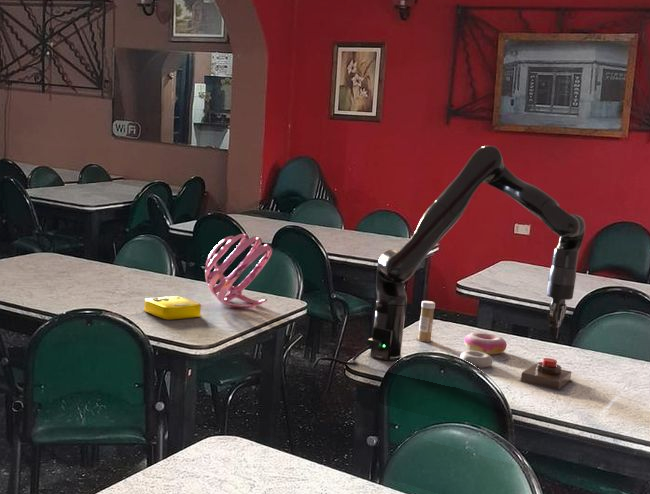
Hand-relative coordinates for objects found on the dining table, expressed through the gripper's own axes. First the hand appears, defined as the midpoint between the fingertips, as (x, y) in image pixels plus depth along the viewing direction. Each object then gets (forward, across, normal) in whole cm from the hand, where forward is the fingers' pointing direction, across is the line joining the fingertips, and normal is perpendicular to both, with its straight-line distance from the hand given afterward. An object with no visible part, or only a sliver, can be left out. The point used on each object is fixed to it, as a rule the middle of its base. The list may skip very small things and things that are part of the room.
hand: (552, 338), depth 254 cm
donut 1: (+13, -18, -26) cm, 34 cm away
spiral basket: (+14, -4, -119) cm, 120 cm away
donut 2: (+13, +1, -22) cm, 26 cm away
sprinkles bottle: (+13, -14, -46) cm, 50 cm away
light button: (+9, 0, 0) cm, 9 cm away
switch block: (+13, +1, 0) cm, 13 cm away
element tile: (+14, +28, -123) cm, 127 cm away
